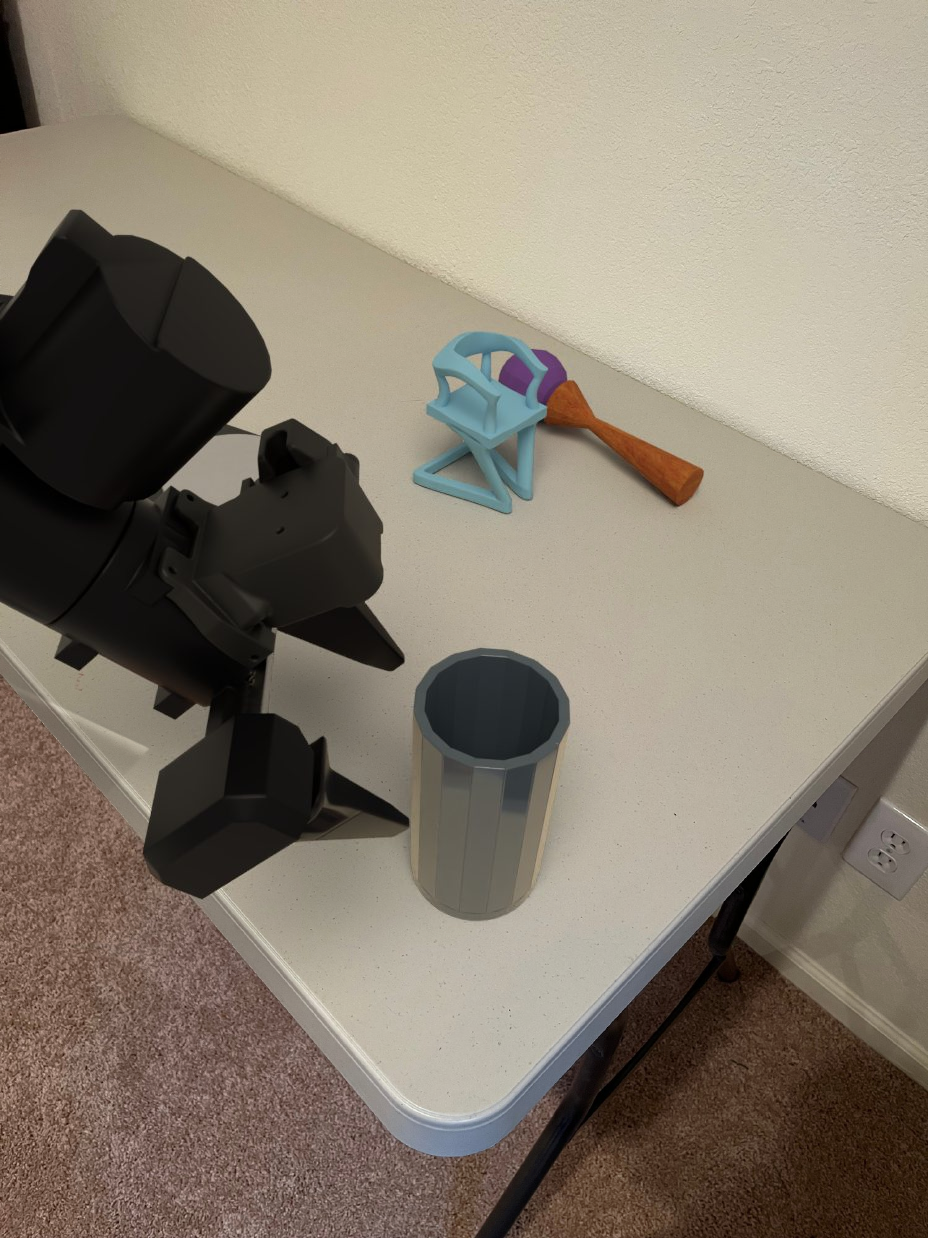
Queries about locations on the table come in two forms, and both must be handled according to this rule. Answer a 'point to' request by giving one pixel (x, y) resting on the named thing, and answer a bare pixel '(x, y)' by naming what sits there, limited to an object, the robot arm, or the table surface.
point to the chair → (485, 419)
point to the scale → (219, 467)
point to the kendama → (601, 426)
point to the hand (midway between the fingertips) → (400, 740)
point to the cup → (484, 779)
